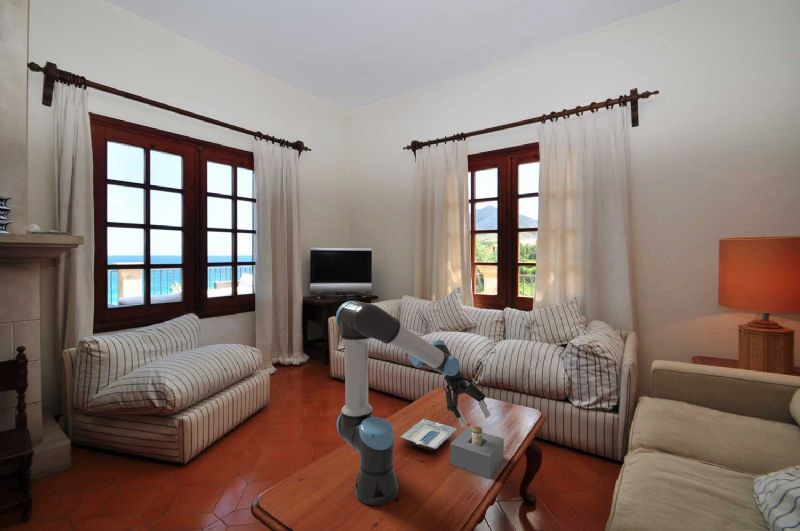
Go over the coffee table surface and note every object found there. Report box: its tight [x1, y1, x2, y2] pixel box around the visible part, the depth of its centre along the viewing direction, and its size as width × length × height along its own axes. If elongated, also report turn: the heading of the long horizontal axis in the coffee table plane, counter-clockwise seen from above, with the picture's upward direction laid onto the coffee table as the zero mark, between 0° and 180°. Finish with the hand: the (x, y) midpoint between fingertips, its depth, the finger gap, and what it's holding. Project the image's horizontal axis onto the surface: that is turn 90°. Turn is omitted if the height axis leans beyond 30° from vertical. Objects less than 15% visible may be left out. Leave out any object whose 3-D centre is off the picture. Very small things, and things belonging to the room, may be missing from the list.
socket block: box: [449, 427, 505, 480], centre depth 139 cm, size 16×16×8 cm
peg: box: [471, 425, 483, 447], centre depth 139 cm, size 4×4×12 cm
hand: (477, 421), depth 140 cm, fingers open, 13 cm apart
